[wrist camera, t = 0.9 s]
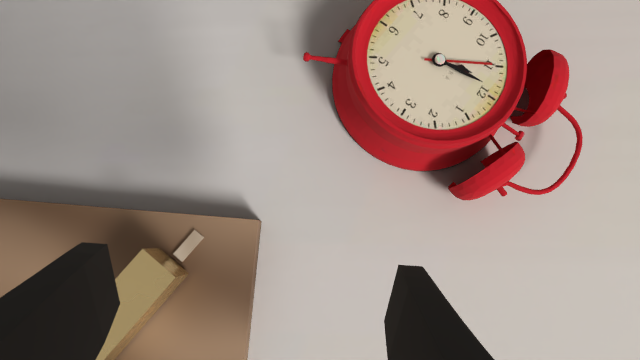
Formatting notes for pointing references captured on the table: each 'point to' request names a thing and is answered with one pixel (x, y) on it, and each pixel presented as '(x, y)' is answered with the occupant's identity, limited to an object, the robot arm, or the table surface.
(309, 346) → the table surface
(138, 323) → the tan wooden bar
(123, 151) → the table surface
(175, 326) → the plate
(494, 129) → the alarm clock
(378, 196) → the table surface
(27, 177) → the table surface
